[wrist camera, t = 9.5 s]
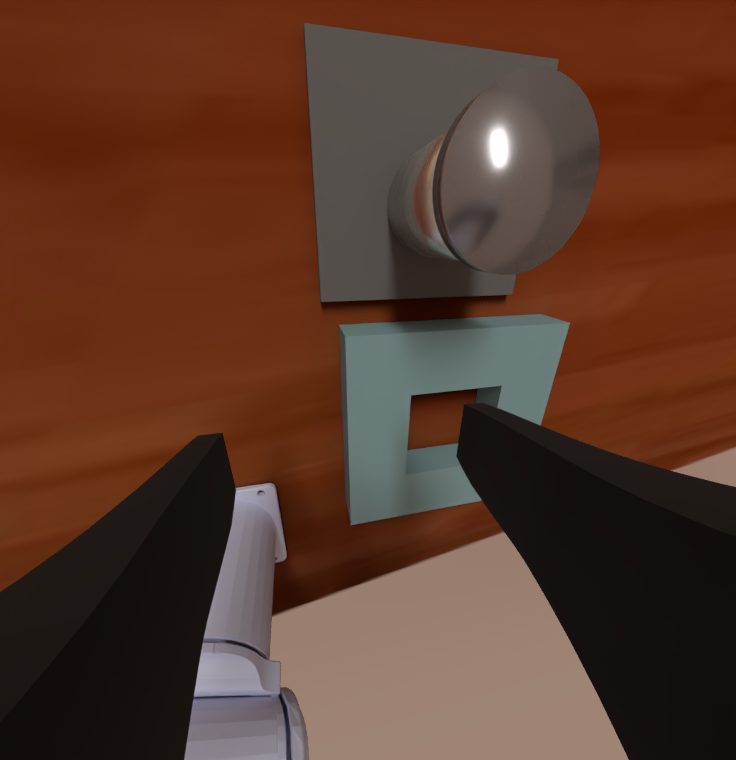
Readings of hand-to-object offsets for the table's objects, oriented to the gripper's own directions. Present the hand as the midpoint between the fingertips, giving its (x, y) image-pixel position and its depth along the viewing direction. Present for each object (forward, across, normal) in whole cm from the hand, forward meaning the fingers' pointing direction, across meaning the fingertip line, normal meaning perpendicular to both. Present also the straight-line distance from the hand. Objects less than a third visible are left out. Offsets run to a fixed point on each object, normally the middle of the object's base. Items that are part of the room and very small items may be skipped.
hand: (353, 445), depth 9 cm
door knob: (+10, -6, -7) cm, 14 cm away
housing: (+10, -8, +6) cm, 14 cm away
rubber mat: (+10, -6, -8) cm, 14 cm away
